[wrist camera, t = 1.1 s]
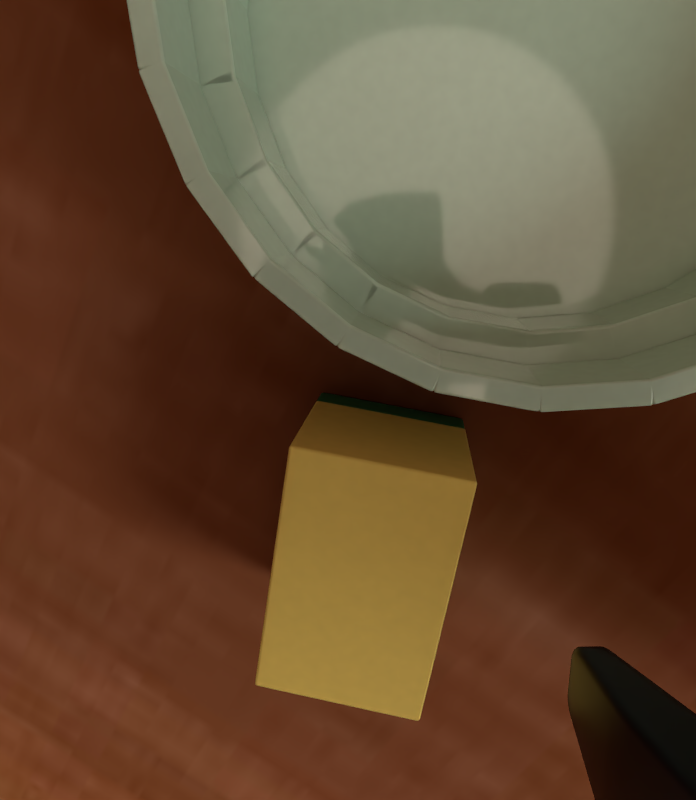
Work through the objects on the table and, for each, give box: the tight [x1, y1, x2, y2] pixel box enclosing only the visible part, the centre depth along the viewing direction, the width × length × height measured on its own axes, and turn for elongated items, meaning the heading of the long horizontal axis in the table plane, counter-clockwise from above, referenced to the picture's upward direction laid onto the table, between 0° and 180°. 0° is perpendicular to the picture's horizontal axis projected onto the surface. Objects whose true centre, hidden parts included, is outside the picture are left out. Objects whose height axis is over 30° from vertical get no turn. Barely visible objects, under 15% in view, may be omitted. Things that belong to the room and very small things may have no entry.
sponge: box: [255, 393, 477, 721], centre depth 18 cm, size 4×7×5 cm, turn 171°
